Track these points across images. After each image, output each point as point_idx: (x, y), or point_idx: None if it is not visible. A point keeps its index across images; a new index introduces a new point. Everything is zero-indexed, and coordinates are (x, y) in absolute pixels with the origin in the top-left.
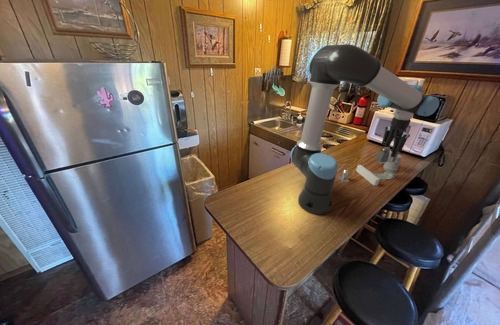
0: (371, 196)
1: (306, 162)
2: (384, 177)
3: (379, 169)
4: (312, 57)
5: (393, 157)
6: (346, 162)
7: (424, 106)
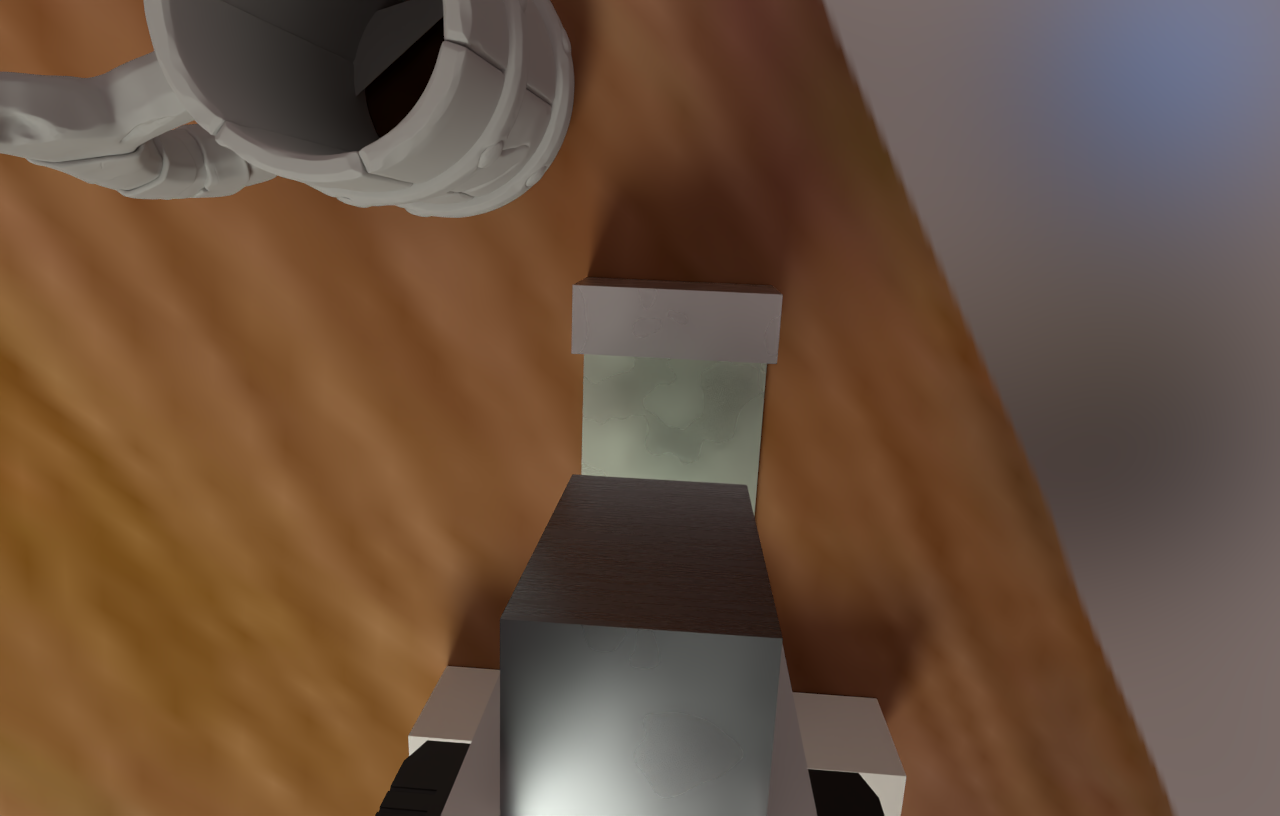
0: None
1: None
2: (715, 441)
3: (441, 297)
4: None
5: (792, 700)
6: (175, 680)
7: None
